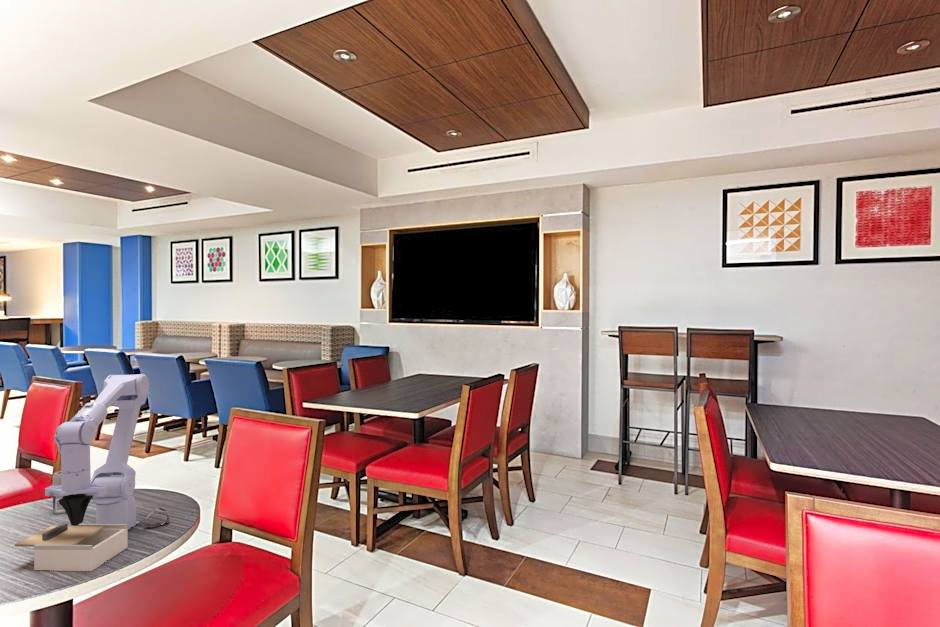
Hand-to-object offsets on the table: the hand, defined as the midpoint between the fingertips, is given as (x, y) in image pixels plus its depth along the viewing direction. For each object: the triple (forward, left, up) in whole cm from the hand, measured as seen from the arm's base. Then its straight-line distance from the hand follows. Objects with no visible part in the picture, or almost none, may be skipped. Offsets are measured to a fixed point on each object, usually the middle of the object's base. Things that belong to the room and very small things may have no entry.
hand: (77, 523), depth 125 cm
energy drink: (-29, -29, -9) cm, 42 cm away
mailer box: (0, +1, -9) cm, 9 cm away
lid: (0, -4, -3) cm, 5 cm away
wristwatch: (-19, +7, -9) cm, 22 cm away
